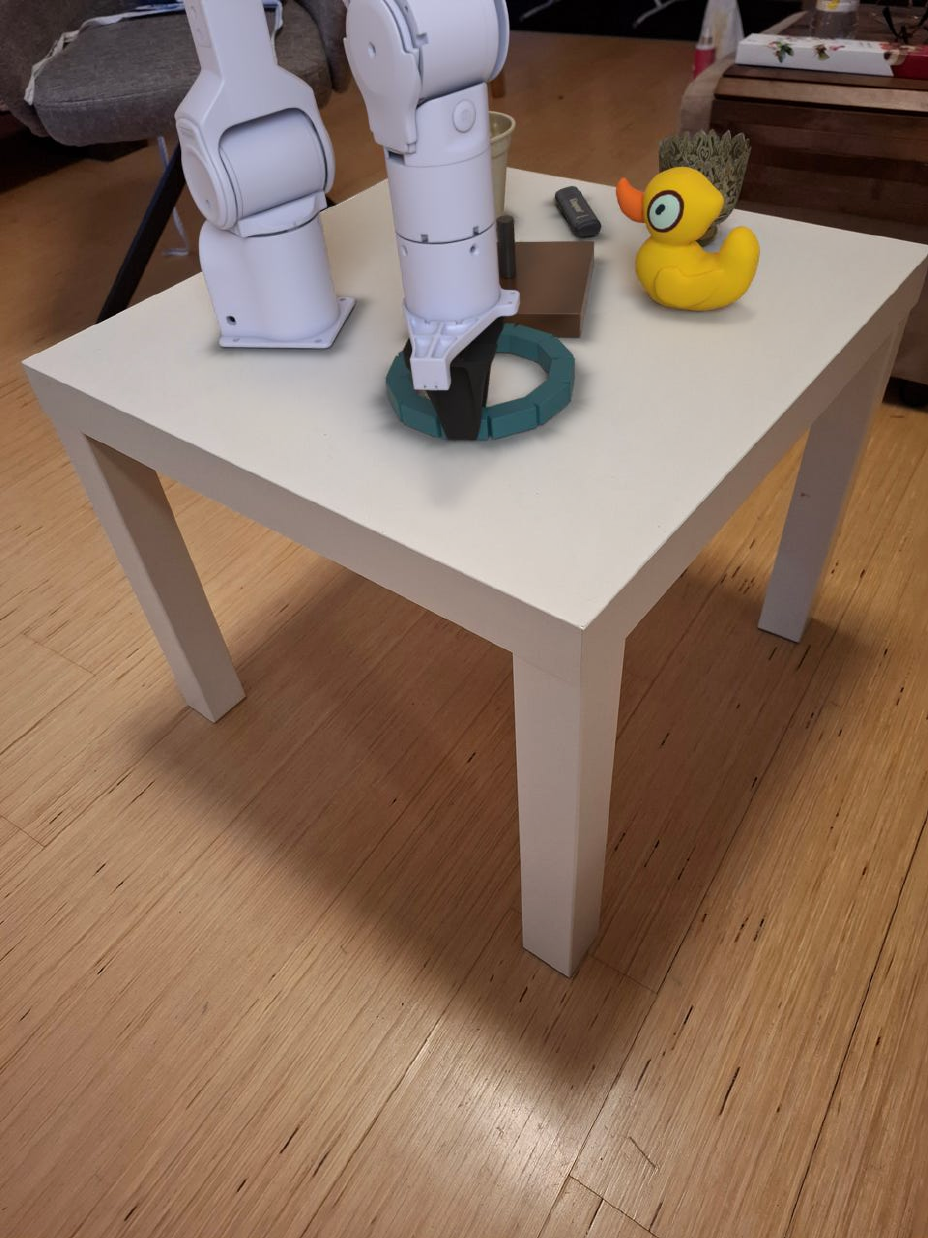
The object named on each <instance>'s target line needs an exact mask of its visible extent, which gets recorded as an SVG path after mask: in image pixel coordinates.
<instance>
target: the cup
mask: <svg viewBox="0 0 928 1238" xmlns="http://www.w3.org/2000/svg"><path fill="white" fill-rule="evenodd" d="M690 135H691V134H690V131H689V130H686V131H685V132H683V134H682V136H681V139H680V138H678V136H676V135H675V134H673V133H670V134H668V135H667V137H666V139H665V140H663V139H660V141H659V144H658V145H659V146H658V147H659V150H658V174H660V173H662V172H664V171H666V170H669V169H672V168H675V167H688V168H692V169H695V170H697V171H699V172H700V173H702V174H703V175H704V176H705V177H706V178H707V179H708V180H709V181H710V182H711V183H712V184H713V186H714V187H715V188H716V189H717V190H718V191H719V192H720V193H721V194H722V196H723V198H724V205H723V208H722V210H721V212H720V214H719V216H718V217H717V218H716V219H715V220H714V221H713V222H712V223H711V225H710V226H709V228H708V229H707V231H706V232H705V233H704V234H703V235H702V236H701V237H700V238H699V239H697V240H695V241H696V242H697V243H698V244H699V245H700V246H701V247H702V246H706V245H709V244H711V243H712V242H713V241H714V240H715V238H716V236H717V235H718V231H719V229H718V225H720V224H722V223H723V222H725V221H726V220H727V219H728V218H729V217H730V216H731V214H732V212H733V211H734V209H735V207H736V205H737V203H738V201H739V197H740V194H741V191H742V187H743V183H744V179H745V174H746V170H747V167H748V162H749V158H750V155H751V150H752V146H750V138H745V133H744V132H739V133H738V134H737V135H735V136H733V137H732V135H731V131H730V130H729V129H728V130H727V131H726V132H725V133H724V134H723V135H722V137H721V140H720V136H719V135H718V134H717V131H716V130H715V129H714V128H711V129H709V131H708V134H706V132H705V131H704V129H703V128H700V129H698V131H697V132H696V133H695V135H694V136H693V138H692V139H691V136H690Z"/></svg>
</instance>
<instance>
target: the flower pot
mask: <svg viewBox="0 0 928 1238" xmlns="http://www.w3.org/2000/svg"><path fill="white" fill-rule="evenodd" d="M489 122H490V139H491V158H492V174H493V191H494V207H495V223H496V219H497V218H498V217H500V216H505V201H506V200H505V198H506V185H507V184H506V183H507V169H508V155H509V154H508V153H509V148H510V147H511V143H512V133H513V132H514V131H515V129H516V120H515V119H514V117H512V116H511V115H509V114H506V113H504V112H499V111H494V110H493V111H492V110H489ZM496 230H497V228H496Z"/></svg>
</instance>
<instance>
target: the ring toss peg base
mask: <svg viewBox="0 0 928 1238" xmlns="http://www.w3.org/2000/svg"><path fill="white" fill-rule="evenodd" d="M496 228H497V229H496V241H497V257H498V274H499V284H500V287H501V288H502V289H504V290H516V291H518V292H519V294H520V305H519V309H518V312H517V313H516V314H515V315H513V316H507V318H506V321H505V323H513V324H515V327H516V326H517V325H519V324H520V325H523V326H526V327H530V328H533V329H536V330H539V331H542V332H546V333H549V334H552V335H553V337H557V338H581V335H582V330H583V323H584V319H585V315H586V308H587V303H588V297H589V292H590V286H591V281H592V276H593V271H594V265H595V241H594V240H571V241H570V240H567V241H565V240H562V241H561V240H559V241H557V240H556V241H550V240H549V241H516V233H515V232H516V231H515V217H514V216H513V215H507V214H506V215H505V214H504V216H500V217H498V218H497V219H496Z"/></svg>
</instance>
